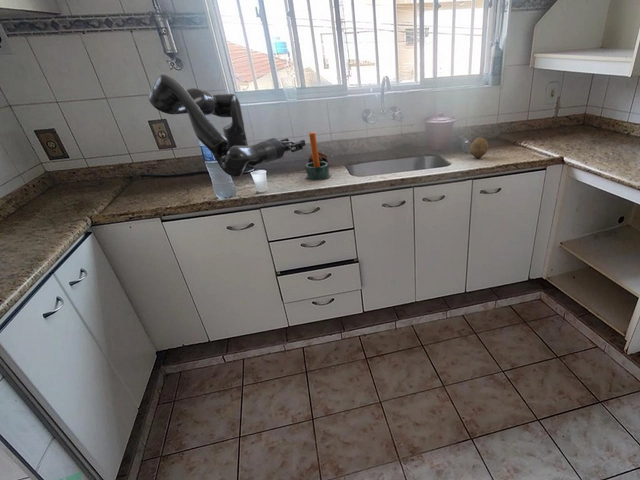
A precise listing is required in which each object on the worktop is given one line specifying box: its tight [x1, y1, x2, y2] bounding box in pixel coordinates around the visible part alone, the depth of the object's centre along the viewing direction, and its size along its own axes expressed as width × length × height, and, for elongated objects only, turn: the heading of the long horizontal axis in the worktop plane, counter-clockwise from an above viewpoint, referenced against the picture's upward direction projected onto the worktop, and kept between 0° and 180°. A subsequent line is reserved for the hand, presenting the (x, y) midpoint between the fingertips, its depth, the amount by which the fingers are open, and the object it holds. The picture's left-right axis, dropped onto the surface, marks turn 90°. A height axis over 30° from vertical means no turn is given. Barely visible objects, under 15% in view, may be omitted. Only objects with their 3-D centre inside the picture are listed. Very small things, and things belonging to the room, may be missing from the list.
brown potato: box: [468, 137, 489, 159], centre depth 190 cm, size 9×9×10 cm
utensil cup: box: [305, 161, 330, 181], centre depth 173 cm, size 10×10×6 cm
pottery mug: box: [307, 151, 329, 164], centre depth 187 cm, size 12×10×8 cm
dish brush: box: [308, 131, 320, 167], centre depth 169 cm, size 5×5×18 cm
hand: (296, 141), depth 157 cm, fingers open, 8 cm apart
